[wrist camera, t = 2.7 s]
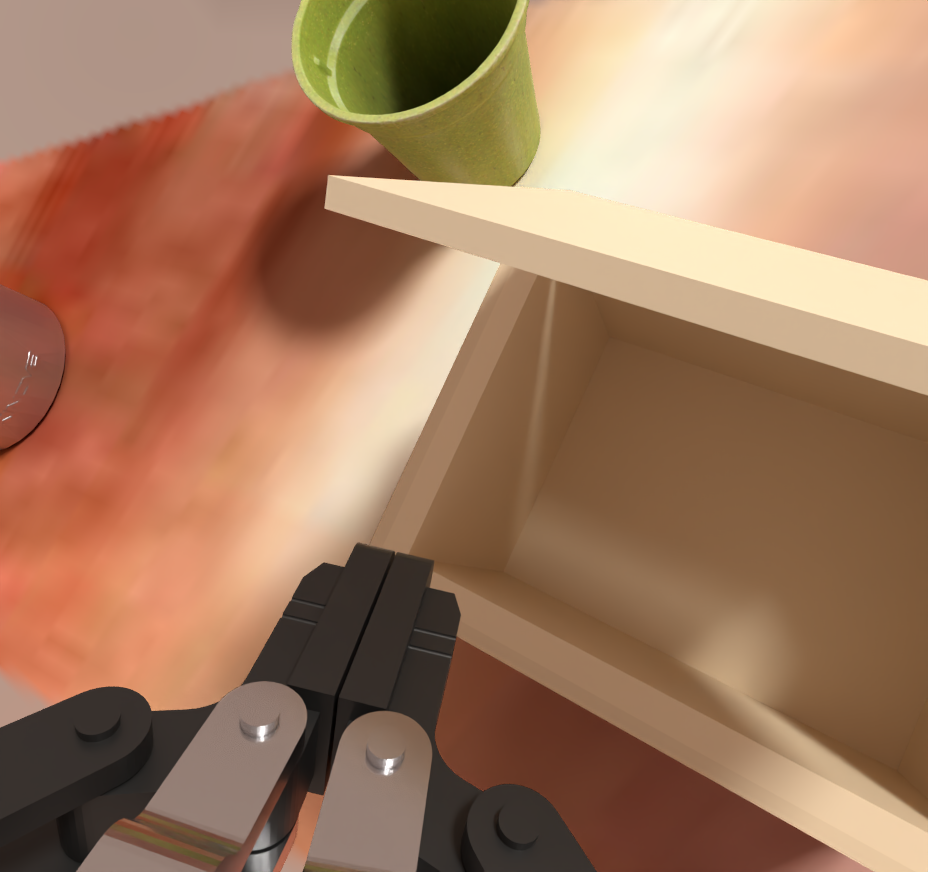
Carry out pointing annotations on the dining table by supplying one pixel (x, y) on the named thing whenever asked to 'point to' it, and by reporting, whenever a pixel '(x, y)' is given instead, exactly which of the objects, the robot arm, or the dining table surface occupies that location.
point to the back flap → (670, 268)
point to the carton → (692, 549)
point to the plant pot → (426, 81)
